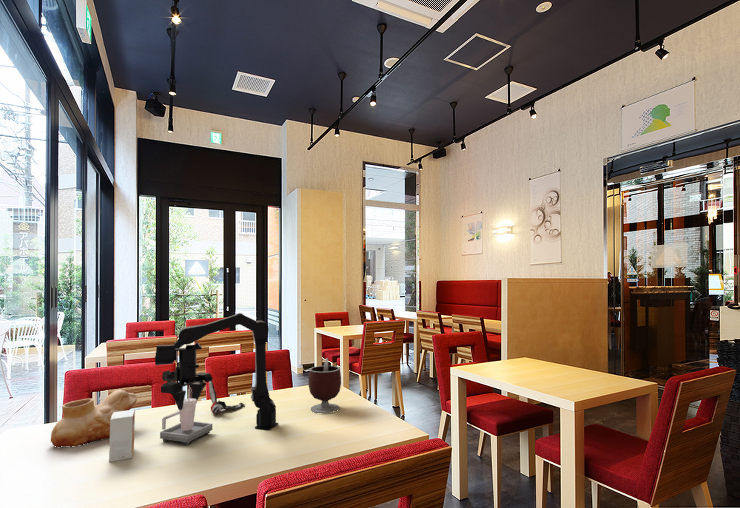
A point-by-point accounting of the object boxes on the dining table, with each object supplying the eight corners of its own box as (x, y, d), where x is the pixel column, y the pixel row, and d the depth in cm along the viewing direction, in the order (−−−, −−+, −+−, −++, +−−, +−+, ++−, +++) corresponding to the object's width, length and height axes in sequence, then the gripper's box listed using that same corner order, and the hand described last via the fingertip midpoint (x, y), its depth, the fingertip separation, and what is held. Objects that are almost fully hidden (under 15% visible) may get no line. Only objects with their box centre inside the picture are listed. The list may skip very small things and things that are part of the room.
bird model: (222, 436, 172) (238, 408, 185) (240, 423, 166) (255, 395, 179) (183, 408, 168) (202, 382, 181) (200, 393, 162) (219, 367, 175)
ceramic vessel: (142, 431, 152) (143, 390, 153) (54, 453, 133) (56, 406, 134) (129, 422, 162) (130, 384, 163) (46, 442, 142) (47, 398, 143)
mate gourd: (339, 414, 167) (339, 365, 169) (306, 414, 168) (305, 365, 169) (342, 403, 183) (342, 357, 184) (312, 403, 183) (311, 358, 184)
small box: (132, 458, 129) (133, 416, 129) (108, 462, 126) (109, 419, 127) (134, 448, 136) (135, 409, 137) (112, 452, 133) (112, 411, 134)
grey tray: (212, 433, 148) (212, 411, 149) (187, 446, 137) (187, 422, 138) (184, 429, 153) (184, 408, 153) (157, 441, 141) (158, 418, 142)
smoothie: (189, 432, 141) (189, 391, 142) (173, 431, 142) (173, 390, 143) (200, 425, 147) (200, 386, 148) (185, 425, 149) (185, 385, 150)
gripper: (189, 356, 158) (189, 397, 157) (148, 366, 140) (148, 413, 139) (212, 358, 154) (212, 400, 153) (173, 368, 137) (173, 416, 136)
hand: (187, 407), depth 145 cm, fingers closed on smoothie, 6 cm apart
